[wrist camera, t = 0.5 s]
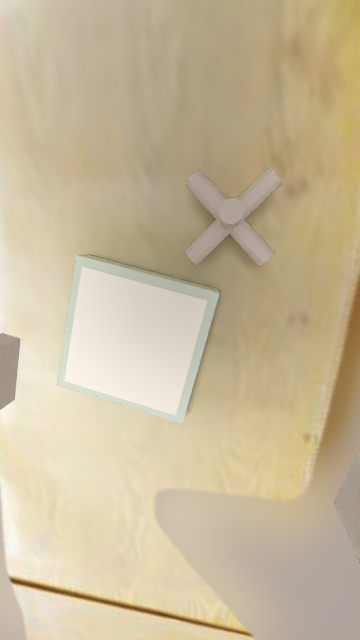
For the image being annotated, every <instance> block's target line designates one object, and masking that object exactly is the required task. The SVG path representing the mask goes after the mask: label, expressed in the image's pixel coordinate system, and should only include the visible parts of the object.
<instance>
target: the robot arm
mask: <svg viewBox="0 0 360 640" xmlns="http://www.w3.org/2000/svg"><path fill="white" fill-rule="evenodd" d="M19 348H20V338H17V337H13V336H10V335H7V334H3V333H2V334H0V410H1V409H2V408H4V407H5V406H6V405H8V404H9V403H11V402H12V401H13V400H15V390H16V380H17V369H18V359H19ZM334 504H335V506H336V509H337V511H338V513H339V516H340V518H341V520H342V523H343V525H344V527H345V529H346V532H347V534H348V537H349V539H350V541H351V544H352V546H353V548H354V550H355V553H356V555H357V557H358V560H359V562H360V450H359V452H358V454H357V456H356V458H355V460H354V462H353V464H352V466H351V468H350V471H349V472H348V475H347V476H346V479H345V480H344V482H343V485H342V486H341V489H340V490H339V493H338V495H337V497H336V499H335V501H334Z"/></svg>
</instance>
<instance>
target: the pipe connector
mask: <svg viewBox="0 0 360 640" xmlns="http://www.w3.org/2000/svg"><path fill="white" fill-rule="evenodd" d="M281 184H282V181H281V179H280V177H279V176H278V175H277V173H276V172H275V171H274V170H273V169H271V168H267V169H266V170H265V171H264V172H263V173H262V174H261V175H260V176H259V177H258V178H257V179H256V180H255V181H254V182H253V183H252V184H251V185H250V186H249V187H248V188H247V189H246V190H245V191H244V192H243V193H242V194H241V195H240V196H239V197H238V198H237V199H236V198H228V199H226V198H225V197H224V196H223V195H222V194H221V193H220V191H219V190H218V189H217V188H216V187H215V186H214V185H213V184H212V183H211V181H210V180H209V179H208V178H207V177H206V176H205V175H204V174H203V172H202V171H201V170H200V169H197V170H196V171H195V172H193V173H192V174H191V175H190V177H189V178H188V179H187V181H186V183H185V186H186V187H187V188H188V189H189V190H190V191H191V192H192V194H193V195H194V196H195V197H196V198H197V199H198V200H199V201H200V202H201V203H202V205H203V206H204V207H205V208H206V209H207V210H208V211H209V212H210V213H211V215H212V216H213V217H214V218H215V219H216V220H215V221H214V222H213V223H212V224H211V225H210V226H209V227H208V228H207V229H206V230H205V231H204V232H203V233H202V234H201V235H200V236H199V237H198V238H197V239H196V240H195V241H194V242H193V243H192V244H191V245H190V246H189V247H188V248H187V249H186V250H185V251H184V253H185V254H186V255H187V257H188V258H189V259H190V260H191V261H192V262H193V263H194V264H195V265H198V264H199V263H200V262H201V261H202V260H203V259H204V258H205V257H206V256H207V255H208V254H210V253H211V252H212V251H213V250H214V249H215V248H216V247H217V246H218V245H219V244H220V243H221V242H222V241H223V240H224V239H225V238H226V237H227V236H228V235H229V234H230V236H231V237H232V238H233V239H234V240H235V241H236V242H237V243H238V244H239V245H240V247H241V248H242V249H243V250H244V251H245V252H246V253H247V254H248V255H249V257H250V258H251V259H252V260H253V261H254V262H255V263H256V264H257V265H258V266H259V267H260V266H261V265H263V264H264V263H265V262H267V261H268V260H269V259H270V258H271V257H272V256H273V255H274V252H273V251H272V249H271V248H270V247H269V246H268V245H267V244H266V243H265V242H264V240H263V239H262V238H261V237H260V236H259V235H258V234H257V233H256V232H255V230H254V229H253V228H252V227H251V226H250V225H249V224H248V223H247V222H246V220H245V219H246V218H247V217H248V216H249V215H250V214H251V213H252V212H253V211H254V210H255V209H256V208H257V207H258V206H259V205H261V204H262V203H263V202H264V201H265V200H266V199H267V198H268V197H269V196H270V195H271V194H272V193H273V192H274V191H275V190H276V189H277V188H278V187H279V186H280V185H281Z"/></svg>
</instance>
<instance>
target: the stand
mask: <svg viewBox="0 0 360 640" xmlns="http://www.w3.org/2000/svg"><path fill="white" fill-rule="evenodd" d="M219 294H220V290H219V289H215V288H211V287H208V286H204V285H200V284H196V283H193V282H189V281H185V280H181V279H178V278H174V277H170V276H166V275H163V274H159V273H155V272H151V271H148V270H144V269H140V268H136V267H133V266H129V265H125V264H121V263H118V262H114V261H110V260H106V259H103V258H99V257H95V256H91V255H76V259H75V265H74V272H73V279H72V286H71V293H70V299H69V306H68V313H67V320H66V327H65V333H64V340H63V347H62V354H61V361H60V367H59V374H58V381H57V385H59V386H62V387H65V388H68V389H72V390H75V391H78V392H81V393H84V394H88V395H91V396H94V397H97V398H100V399H104V400H107V401H110V402H113V403H116V404H120V405H123V406H126V407H129V408H133V409H136V410H139V411H142V412H145V413H149V414H152V415H155V416H158V417H161V418H165V419H168V420H171V421H174V422H177V423H181V424H183V420H184V417H185V413H186V410H187V406H188V403H189V399H190V396H191V392H192V389H193V385H194V382H195V378H196V375H197V371H198V368H199V364H200V361H201V357H202V354H203V350H204V347H205V343H206V340H207V336H208V333H209V329H210V326H211V322H212V319H213V315H214V312H215V308H216V305H217V301H218V298H219Z"/></svg>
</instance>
